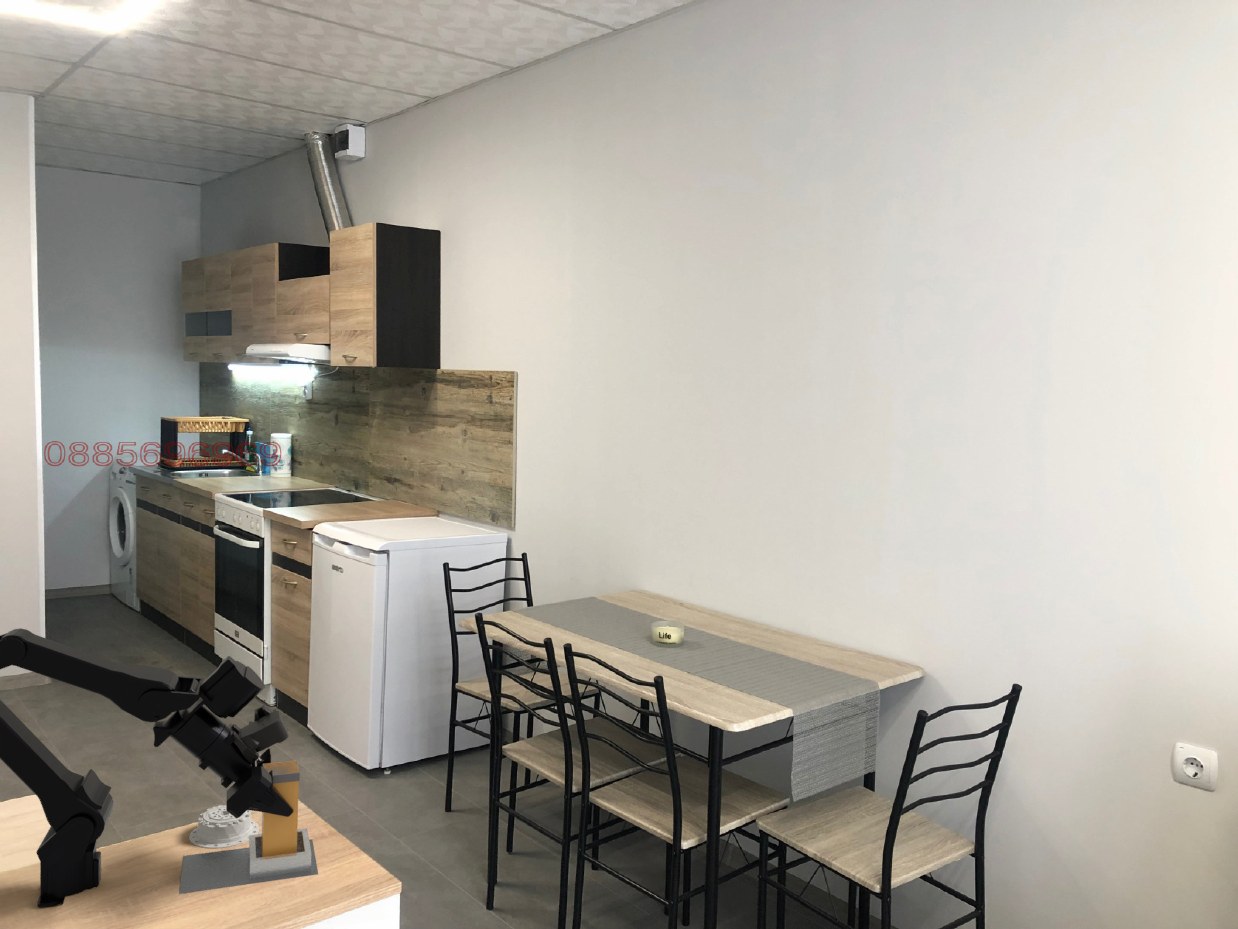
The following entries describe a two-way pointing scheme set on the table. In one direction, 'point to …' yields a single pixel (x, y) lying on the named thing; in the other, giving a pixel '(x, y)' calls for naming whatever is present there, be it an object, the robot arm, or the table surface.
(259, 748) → the robot arm
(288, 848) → the capped orange pillar
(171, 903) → the table surface
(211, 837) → the mechanical component
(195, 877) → the grey socket base plate
